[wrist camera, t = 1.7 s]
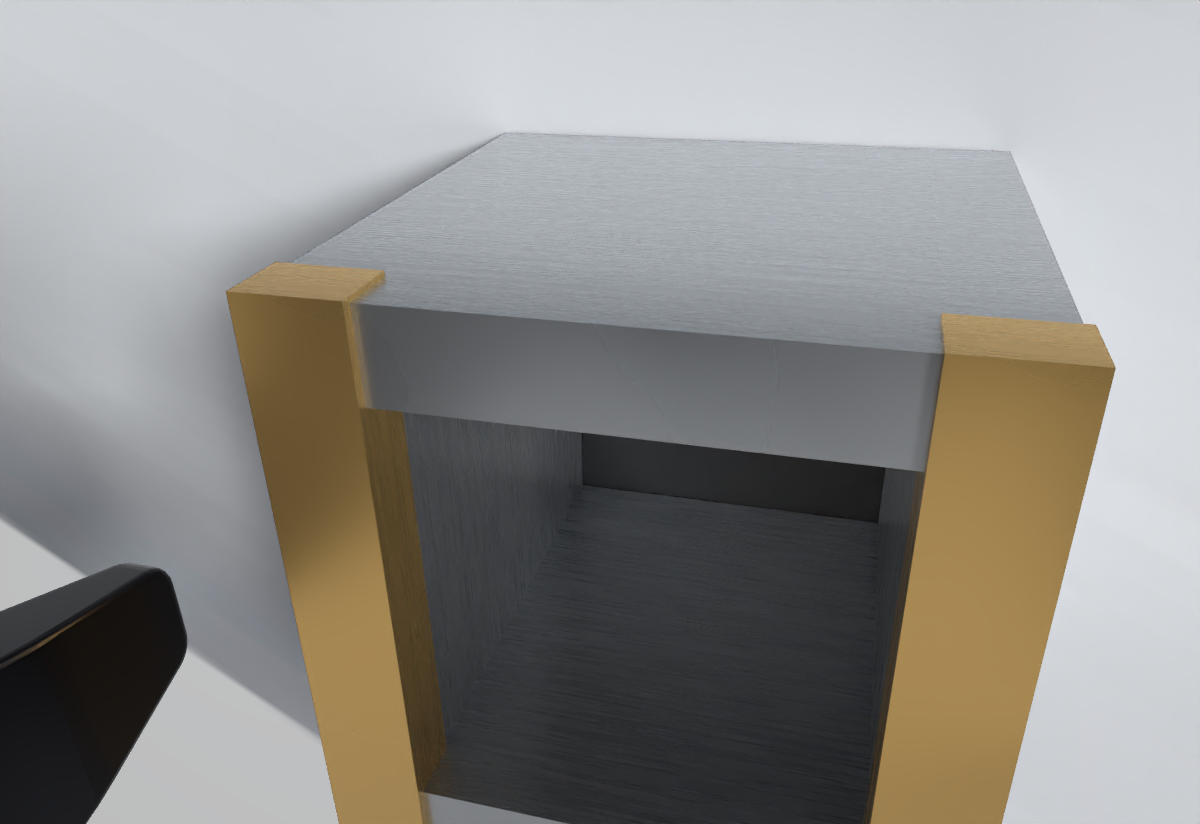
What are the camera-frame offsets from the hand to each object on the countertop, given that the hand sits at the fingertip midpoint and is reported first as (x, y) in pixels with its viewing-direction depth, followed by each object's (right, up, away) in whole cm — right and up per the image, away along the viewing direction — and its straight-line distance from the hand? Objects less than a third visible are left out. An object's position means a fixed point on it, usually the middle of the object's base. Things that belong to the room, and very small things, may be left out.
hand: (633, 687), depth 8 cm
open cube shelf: (+2, +3, +5) cm, 6 cm away
